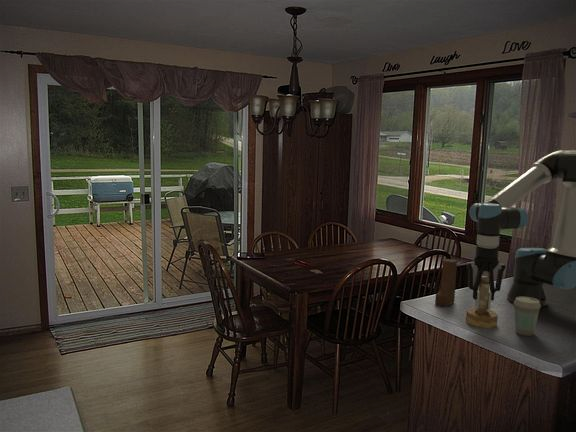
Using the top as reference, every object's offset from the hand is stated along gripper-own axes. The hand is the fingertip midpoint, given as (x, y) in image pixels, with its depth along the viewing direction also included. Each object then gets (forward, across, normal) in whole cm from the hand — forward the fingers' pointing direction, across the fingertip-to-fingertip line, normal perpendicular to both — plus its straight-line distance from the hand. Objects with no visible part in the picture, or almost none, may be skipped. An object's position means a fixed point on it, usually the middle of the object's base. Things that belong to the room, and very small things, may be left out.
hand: (482, 308), depth 177 cm
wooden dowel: (+4, 0, 0) cm, 4 cm away
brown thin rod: (+6, 0, -11) cm, 12 cm away
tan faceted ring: (+6, 0, 0) cm, 6 cm away
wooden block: (+6, +10, -20) cm, 23 cm away
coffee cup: (+6, -13, +7) cm, 16 cm away
